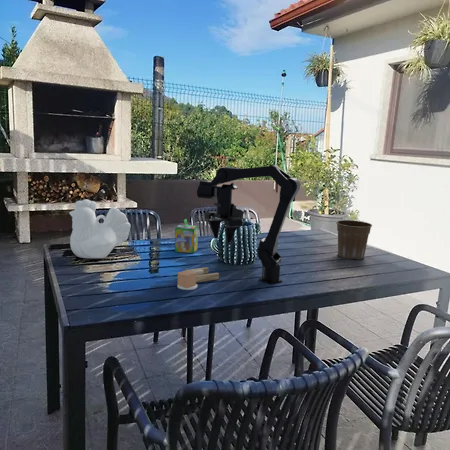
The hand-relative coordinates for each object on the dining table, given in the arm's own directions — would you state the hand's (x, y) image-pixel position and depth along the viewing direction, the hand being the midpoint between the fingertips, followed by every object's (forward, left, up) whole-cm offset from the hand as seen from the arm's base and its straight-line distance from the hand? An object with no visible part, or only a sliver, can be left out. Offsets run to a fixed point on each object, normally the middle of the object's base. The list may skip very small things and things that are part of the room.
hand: (222, 240), depth 165 cm
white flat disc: (-9, +19, -13) cm, 25 cm away
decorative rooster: (+40, +35, -13) cm, 55 cm away
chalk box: (+37, -4, -13) cm, 40 cm away
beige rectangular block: (-2, +13, -13) cm, 19 cm away
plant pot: (-3, -71, -13) cm, 72 cm away
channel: (-2, +10, -13) cm, 17 cm away
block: (-9, +20, -12) cm, 25 cm away
